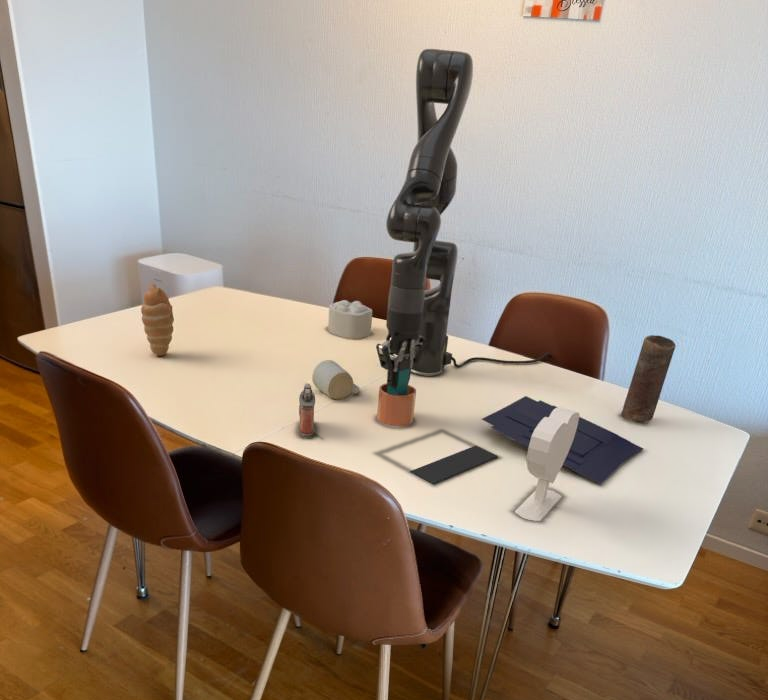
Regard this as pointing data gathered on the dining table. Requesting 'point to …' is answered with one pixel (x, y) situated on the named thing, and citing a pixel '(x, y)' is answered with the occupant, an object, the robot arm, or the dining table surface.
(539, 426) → the heart sculpture
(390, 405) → the pen cup
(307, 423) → the lighter
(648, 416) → the brown hollow cylinder
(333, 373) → the ceramic mug
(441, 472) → the mat
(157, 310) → the ridged brown croissant
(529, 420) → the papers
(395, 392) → the block
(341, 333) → the lumpy-topped squat cylinder
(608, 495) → the dining table surface
